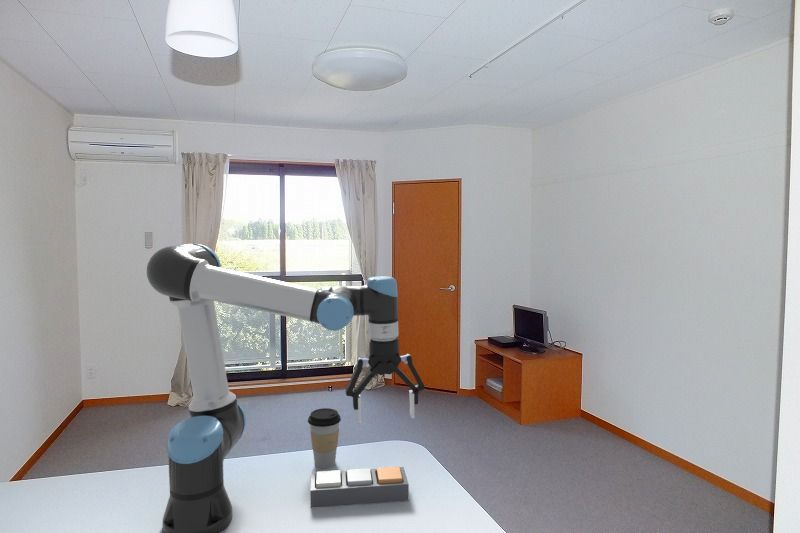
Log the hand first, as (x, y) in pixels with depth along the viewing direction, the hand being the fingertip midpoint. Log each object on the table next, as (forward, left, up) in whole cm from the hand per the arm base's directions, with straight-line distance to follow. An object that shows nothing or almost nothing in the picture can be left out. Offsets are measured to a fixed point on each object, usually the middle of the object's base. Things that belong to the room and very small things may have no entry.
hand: (386, 418), depth 129 cm
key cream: (-15, 0, -16) cm, 22 cm away
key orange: (+1, 0, -16) cm, 16 cm away
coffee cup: (-16, +18, -20) cm, 31 cm away
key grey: (-7, 0, -16) cm, 18 cm away
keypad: (-7, 0, -20) cm, 21 cm away
